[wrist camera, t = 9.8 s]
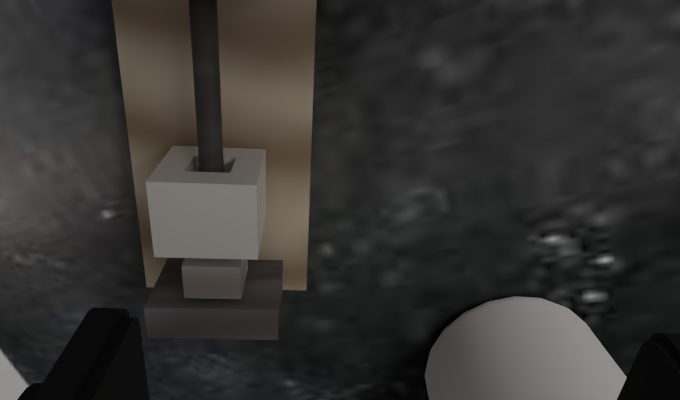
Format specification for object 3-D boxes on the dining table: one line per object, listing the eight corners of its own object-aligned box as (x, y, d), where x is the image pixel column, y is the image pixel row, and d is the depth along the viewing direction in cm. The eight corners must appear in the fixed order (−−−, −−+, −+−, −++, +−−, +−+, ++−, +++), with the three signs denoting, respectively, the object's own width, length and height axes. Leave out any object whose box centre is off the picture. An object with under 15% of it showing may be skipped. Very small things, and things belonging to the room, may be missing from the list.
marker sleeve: (172, 145, 28) (145, 181, 23) (265, 149, 28) (256, 185, 24) (178, 211, 29) (154, 257, 25) (265, 214, 30) (257, 259, 25)
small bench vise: (113, -72, 25) (52, -82, 19) (318, -58, 26) (319, -64, 20) (153, 273, 33) (119, 340, 28) (306, 277, 34) (305, 343, 28)
